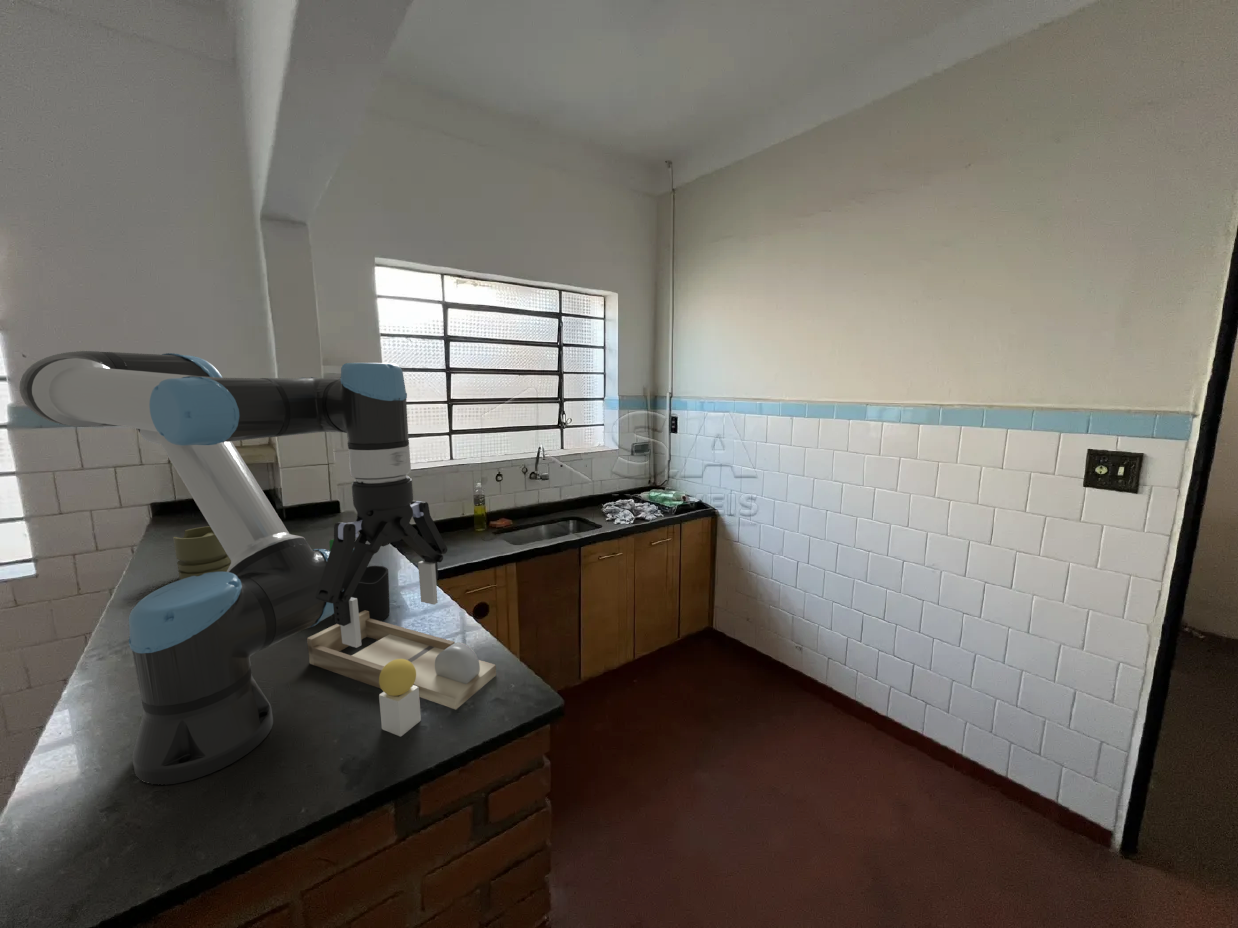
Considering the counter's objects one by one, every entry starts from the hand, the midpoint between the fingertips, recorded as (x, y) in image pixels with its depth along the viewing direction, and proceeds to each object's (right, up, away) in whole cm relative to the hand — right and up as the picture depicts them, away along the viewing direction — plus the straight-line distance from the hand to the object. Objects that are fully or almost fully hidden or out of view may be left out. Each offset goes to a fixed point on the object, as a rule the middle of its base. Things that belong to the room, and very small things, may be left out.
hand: (393, 621), depth 71 cm
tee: (0, -16, +3) cm, 17 cm away
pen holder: (-22, -11, +36) cm, 44 cm away
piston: (-76, -7, +59) cm, 96 cm away
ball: (0, -9, +1) cm, 9 cm away
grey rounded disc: (+5, -15, +12) cm, 20 cm away
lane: (-6, -14, +17) cm, 23 cm away
